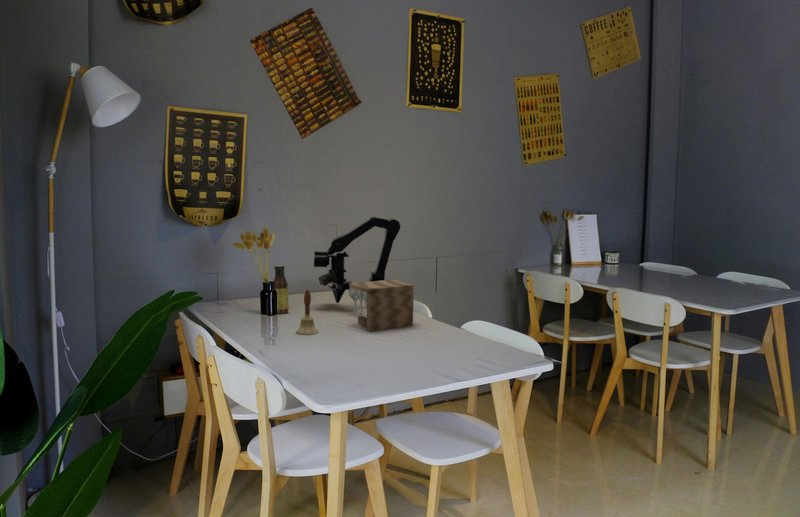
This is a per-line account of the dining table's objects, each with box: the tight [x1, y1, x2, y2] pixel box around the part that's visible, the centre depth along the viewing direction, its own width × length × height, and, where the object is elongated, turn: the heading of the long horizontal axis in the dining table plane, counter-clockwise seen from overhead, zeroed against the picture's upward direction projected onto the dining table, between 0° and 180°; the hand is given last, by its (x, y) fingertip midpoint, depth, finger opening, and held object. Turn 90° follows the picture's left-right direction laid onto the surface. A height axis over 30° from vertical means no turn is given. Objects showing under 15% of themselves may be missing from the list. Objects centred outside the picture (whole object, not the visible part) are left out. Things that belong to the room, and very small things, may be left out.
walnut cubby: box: [349, 279, 415, 333], centre depth 261 cm, size 20×15×16 cm
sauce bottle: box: [272, 264, 289, 315], centre depth 280 cm, size 6×6×20 cm
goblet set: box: [348, 287, 367, 319], centre depth 270 cm, size 28×6×13 cm, turn 28°
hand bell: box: [295, 289, 319, 336], centre depth 248 cm, size 8×8×16 cm
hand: (337, 302), depth 291 cm, fingers closed
